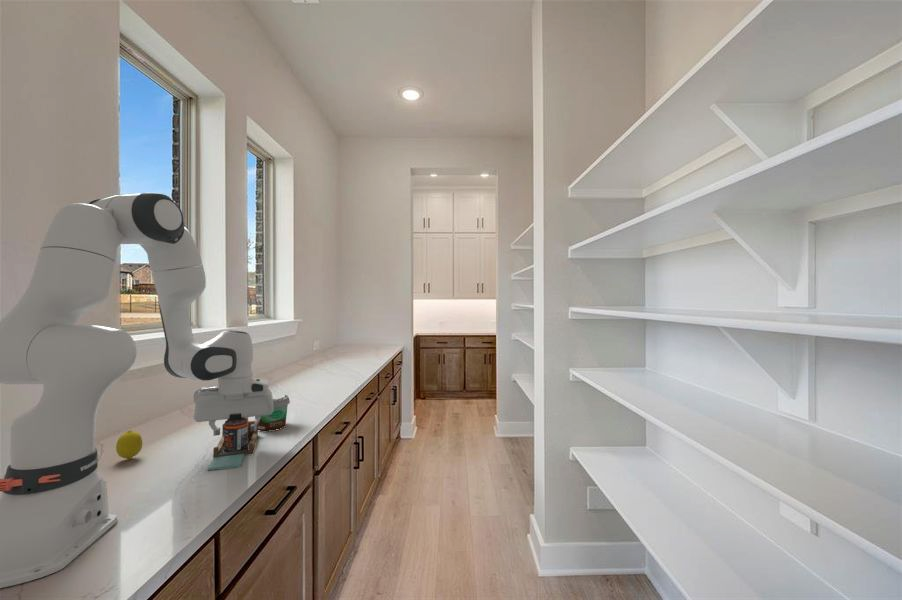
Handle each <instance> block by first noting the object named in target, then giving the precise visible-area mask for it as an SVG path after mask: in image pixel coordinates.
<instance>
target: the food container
mask: <svg viewBox="0 0 902 600" xmlns="http://www.w3.org/2000/svg"><path fill="white" fill-rule="evenodd" d="M290 403H291V400H290V397H289V396H288V395H287V394H284V397H281V398H273V404H274V411H273V413H272V414H271V415H264V416H261V419H260V421H259V422H258V430H260V431H259V432H263V431H266V432H270V431H269V430H275V431H277V430H276V429H279V430H281V429H280V428H282V427H284V426H285V427H286V423H287V414H288V405H289V404H290ZM285 427H284V428H285ZM282 429H283V428H282Z"/></svg>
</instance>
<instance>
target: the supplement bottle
mask: <svg viewBox="0 0 902 600" xmlns="http://www.w3.org/2000/svg"><path fill="white" fill-rule="evenodd" d="M223 424H224V447H223V453H226V452H234V451H242V450H248V442H247V419H246V418H242V416H241V413H237V414H230V417H229V419H225V421H224V423H223Z"/></svg>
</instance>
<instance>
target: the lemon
mask: <svg viewBox="0 0 902 600" xmlns="http://www.w3.org/2000/svg"><path fill="white" fill-rule="evenodd" d="M142 448H143V438H142V435H141V434H140V433H139V432H137V431H133V430H130V429H129V430H127V431H126V432H124V433H122V434H121V435H120V436H119V437H118V439H117V441H116V445H115V449H116V453H117V455H118V456H119V457H120V458H122V459H126V460H131V459H133V457H135V456H137V455H138V454H139V453H140V452H141V450H142Z"/></svg>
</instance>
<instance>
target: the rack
mask: <svg viewBox="0 0 902 600" xmlns="http://www.w3.org/2000/svg"><path fill="white" fill-rule="evenodd" d="M255 422H256V420H248V439H251V440H250V442H249V443H248V449H246V450H242V451H234V452H226V453H225V452H223V450H224V423H222V426H221V427H222V429H221V430H222V436H221V437H220V439H219V441H218V443H217V445H216V446H215V447H213V451H212V452H213V453H212V459H213V458H214V457H222V456H230V455H238V454H244V456H252V454H253V455H254V452H255V449H254V448H256V445H255V444H257V441H258V436H259V431H258V424H257V430H256V431H252V432H251V424H254V423H255ZM249 437H252V438H249ZM256 440H257V441H256ZM222 449H223V450H222ZM221 451H222V452H221Z"/></svg>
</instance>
